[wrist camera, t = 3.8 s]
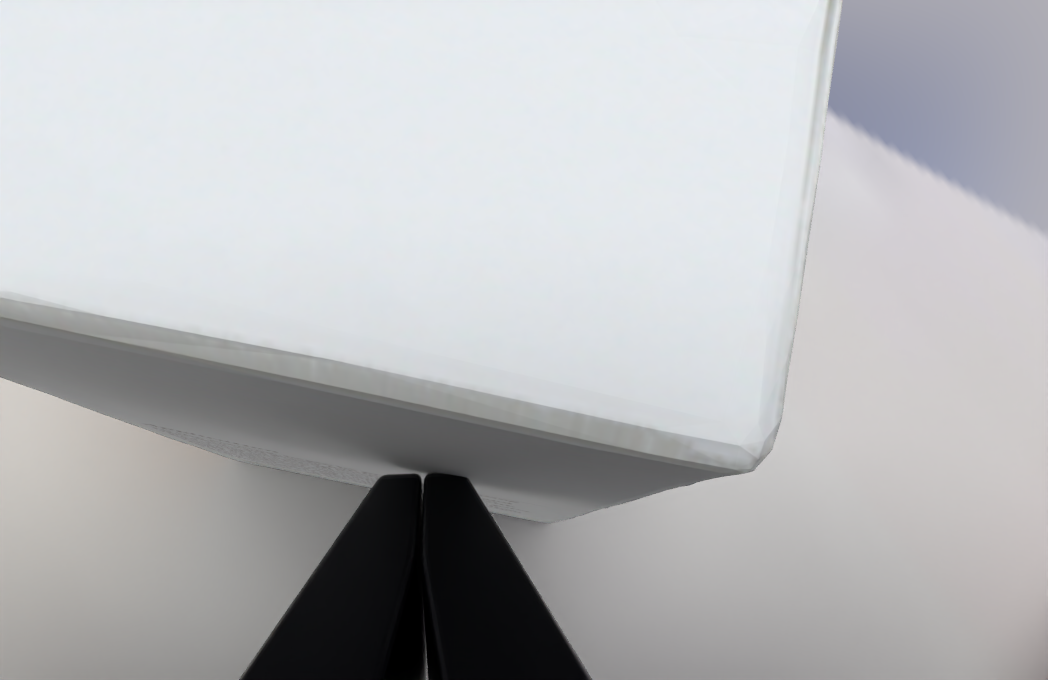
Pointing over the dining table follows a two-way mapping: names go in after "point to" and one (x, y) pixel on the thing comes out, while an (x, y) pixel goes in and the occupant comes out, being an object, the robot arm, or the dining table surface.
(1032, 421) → the dining table surface
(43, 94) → the small box
